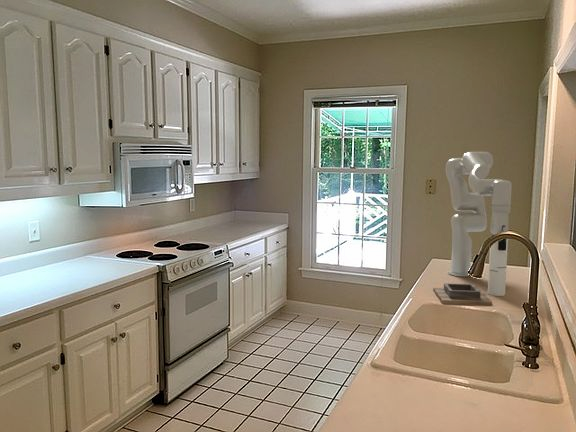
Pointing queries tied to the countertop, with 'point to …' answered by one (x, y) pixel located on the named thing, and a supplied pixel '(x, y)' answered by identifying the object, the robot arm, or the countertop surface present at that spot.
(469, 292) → the walnut caddy
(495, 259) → the cylindrical container
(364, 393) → the countertop surface
